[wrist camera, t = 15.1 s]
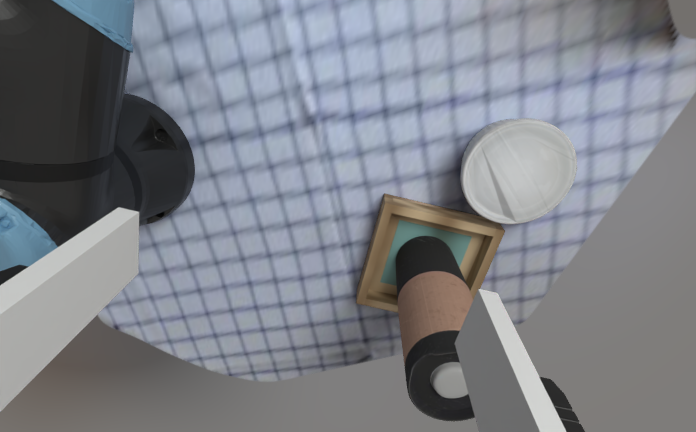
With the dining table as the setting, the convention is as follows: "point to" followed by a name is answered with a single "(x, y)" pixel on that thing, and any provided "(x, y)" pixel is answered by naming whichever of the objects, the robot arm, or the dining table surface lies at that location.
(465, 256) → the tray
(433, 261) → the travel mug
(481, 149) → the ramekin
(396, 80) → the dining table surface
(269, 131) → the dining table surface
